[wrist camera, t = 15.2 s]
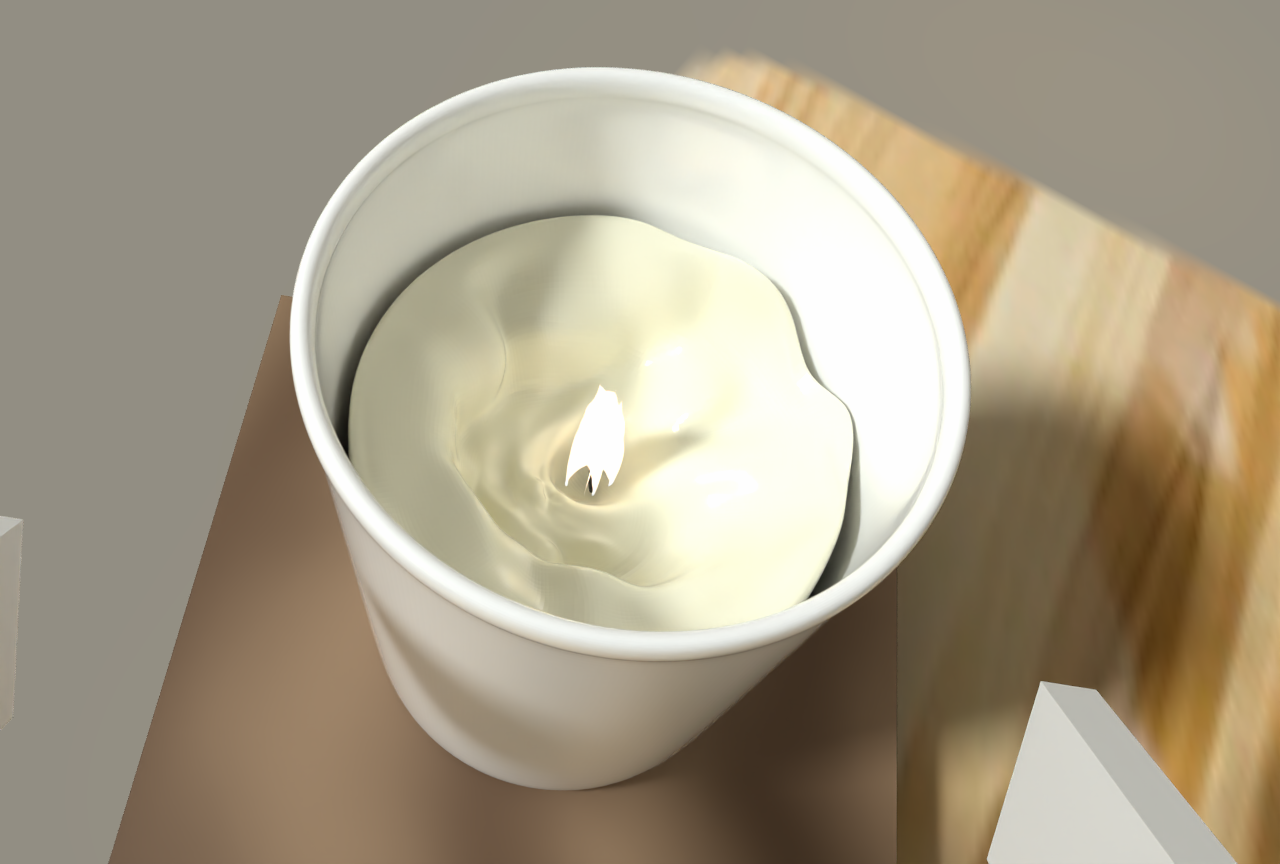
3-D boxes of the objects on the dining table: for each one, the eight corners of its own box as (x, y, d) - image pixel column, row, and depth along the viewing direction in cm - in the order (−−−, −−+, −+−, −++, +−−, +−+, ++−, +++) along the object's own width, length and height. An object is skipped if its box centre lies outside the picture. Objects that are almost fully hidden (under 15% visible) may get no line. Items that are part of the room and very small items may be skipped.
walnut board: (872, 437, 34) (897, 401, 32) (866, 990, 27) (896, 983, 25) (289, 338, 32) (281, 295, 31) (125, 893, 25) (103, 879, 24)
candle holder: (653, 368, 31) (768, 6, 21) (848, 713, 28) (1105, 485, 17) (277, 504, 28) (190, 154, 18) (444, 916, 24) (460, 785, 14)
